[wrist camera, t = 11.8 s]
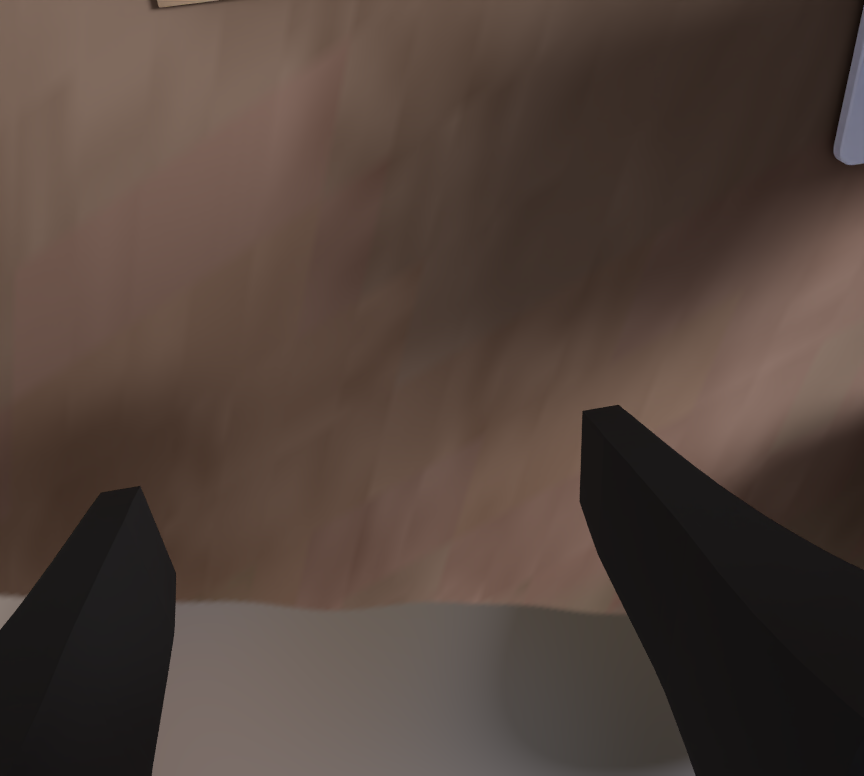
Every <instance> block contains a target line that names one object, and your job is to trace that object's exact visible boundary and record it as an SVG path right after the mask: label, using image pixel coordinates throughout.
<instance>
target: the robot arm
mask: <svg viewBox="0 0 864 776" xmlns="http://www.w3.org/2000/svg"><path fill="white" fill-rule="evenodd" d="M834 155H835V157H836V159H838V160H840V161H841V162H843V163H845V164H846V165H857V164H864V7H863V12H862V17H861V21H860V26H859V31H858V35H857V40H856V45H855V49H854V54H853V59H852V63H851V68H850V73H849V77H848V82H847V87H846V91H845V96H844V101H843V105H842V110H841V115H840V119H839V124H838V129H837V133H836V138H835V143H834ZM580 504H581V507H582V510H583V513H584V516H585V519H586V522H587V525H588V528H589V531H590V533H591V536H592V539H593V542H594V545H595V547H596V550H597V553H598V555H599V557H600V560H601V562H602V564H603V566H604V568H605V570H606V572H607V574H608V576H609V578H610V580H611V582H612V584H613V586H614V588H615V590H616V592H617V594H618V596H619V598H620V600H621V602H622V605H623V607H624V609H625V611H626V613H627V615H628V617H629V619H630V621H631V623H632V625H633V627H634V628H635V630H636V633H637V634H638V637H639V638H640V641H641V643H642V645H643V647H644V649H645V651H646V653H647V655H648V657H649V659H650V661H651V663H652V665H653V667H654V669H655V671H656V674H657V676H658V678H659V680H660V683H661V685H662V687H663V689H664V691H665V694H666V696H667V699H668V702H669V704H670V707H671V710H672V712H673V715H674V718H675V720H676V723H677V726H678V728H679V731H680V734H681V736H682V739H683V742H684V744H685V747H686V749H687V753H688V755H689V758H690V761H691V764H692V766H693V769H694V772H695V775H696V776H864V570H862V569H860V568H858V567H856V566H854V565H852V564H850V563H848V562H846V561H844V560H842V559H840V558H838V557H836V556H834V555H832V554H830V553H829V552H827V551H825V550H823V549H821V548H819V547H818V546H816V545H814V544H812V543H810V542H809V541H807V540H805V539H803V538H802V537H800V536H798V535H796V534H795V533H793V532H791V531H789V530H788V529H786V528H784V527H783V526H781V525H779V524H778V523H776V522H774V521H773V520H771V519H770V518H768V517H766V516H765V515H763V514H762V513H760V512H759V511H757V510H756V509H754V508H753V507H751V506H750V505H748V504H747V503H745V502H744V501H742V500H741V499H739V498H738V497H736V496H735V495H733V494H732V493H730V492H729V491H728V490H726V489H725V488H723V487H722V486H720V485H719V484H718V483H716V482H715V481H714V480H712V479H711V478H710V477H708V476H707V475H706V474H704V473H703V472H702V471H700V470H699V469H698V468H696V467H695V466H694V465H693V464H691V463H690V462H689V461H687V460H686V459H685V458H683V457H682V456H681V455H680V454H678V453H677V452H676V451H675V450H673V449H672V448H671V447H670V446H668V445H667V444H666V443H665V442H663V441H662V440H661V439H660V438H659V437H657V436H656V435H655V434H654V433H652V432H651V431H650V430H649V429H648V428H646V427H645V426H644V425H643V424H641V423H640V422H639V421H638V420H637V419H635V418H634V417H633V416H632V415H630V414H629V413H628V412H627V411H625V410H624V409H623V408H622V407H620V406H619V405H615V406H609V407H603V408H597V409H591V410H585V411H583V415H582V445H581V475H580ZM175 602H176V572H175V570H174V567H173V565H172V562H171V560H170V557H169V555H168V553H167V550H166V548H165V545H164V543H163V540H162V538H161V536H160V533H159V531H158V528H157V526H156V523H155V521H154V518H153V516H152V514H151V511H150V509H149V506H148V504H147V501H146V499H145V497H144V494H143V492H142V489H141V487H140V486H138V487H132V488H126V489H120V490H114V491H108V492H102V493H101V494H100V495H99V496H98V498H97V499H96V500H95V502H94V503H93V504H92V506H91V507H90V508H89V510H88V511H87V513H86V514H85V515H84V517H83V518H82V520H81V521H80V523H79V524H78V525H77V527H76V528H75V530H74V531H73V533H72V534H71V536H70V537H69V538H68V540H67V541H66V543H65V544H64V546H63V547H62V548H61V550H60V551H59V553H58V554H57V555H56V557H55V558H54V560H53V561H52V563H51V564H50V565H49V567H48V568H47V569H46V571H45V572H44V573H43V575H42V576H41V578H40V579H39V580H38V582H37V583H36V584H35V586H34V587H33V588H32V590H31V591H30V592H29V594H28V595H27V597H26V598H25V599H24V601H23V602H22V603H21V605H20V606H19V607H18V608H17V610H16V611H15V612H14V614H13V615H12V616H11V617H10V619H9V620H8V621H7V622H6V624H5V625H4V626H3V627H2V628H1V630H0V776H152V768H153V761H154V755H155V749H156V743H157V737H158V731H159V725H160V719H161V713H162V707H163V700H164V694H165V688H166V682H167V677H168V670H169V664H170V657H171V651H172V645H173V637H174V627H175Z"/></svg>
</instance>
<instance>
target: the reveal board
mask: <svg viewBox="0 0 864 776" xmlns="http://www.w3.org/2000/svg"><path fill="white" fill-rule="evenodd" d="M209 1H217V0H157V2H158V6H159V8H160V7H168V6H176V5H185V4H193V3H201V2H209Z"/></svg>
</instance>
